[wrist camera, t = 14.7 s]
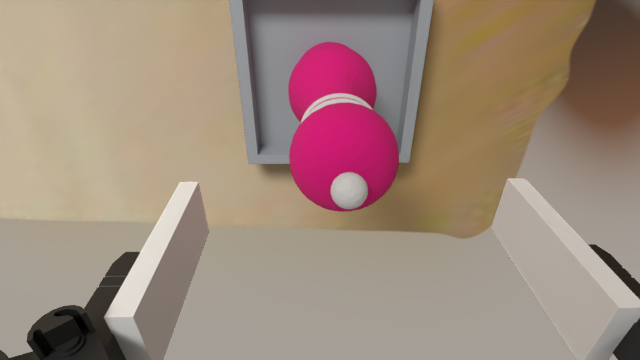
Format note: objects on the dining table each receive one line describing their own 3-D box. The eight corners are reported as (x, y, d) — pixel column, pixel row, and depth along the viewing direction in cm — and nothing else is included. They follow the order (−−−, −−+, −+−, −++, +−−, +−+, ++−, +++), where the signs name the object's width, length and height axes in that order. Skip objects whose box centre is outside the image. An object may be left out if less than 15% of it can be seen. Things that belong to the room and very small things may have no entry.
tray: (233, -23, 30) (226, -21, 27) (426, -23, 30) (436, -21, 28) (252, 150, 38) (248, 164, 36) (402, 148, 39) (409, 162, 36)
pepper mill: (319, 127, 36) (328, 279, 19) (274, 67, 33) (237, 185, 16) (382, 86, 34) (456, 216, 17) (341, 17, 31) (381, 92, 14)
